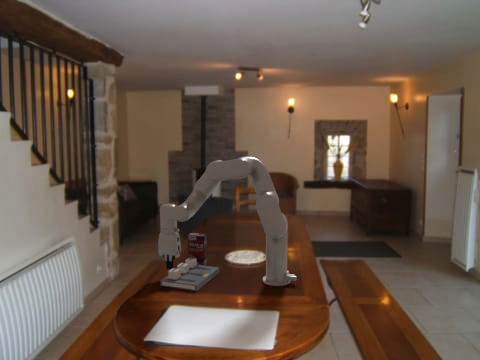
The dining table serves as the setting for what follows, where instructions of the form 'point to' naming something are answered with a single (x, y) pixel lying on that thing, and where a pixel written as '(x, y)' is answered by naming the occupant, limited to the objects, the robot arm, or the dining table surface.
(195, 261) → the switch
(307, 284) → the dining table surface
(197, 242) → the supplement box
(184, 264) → the switch
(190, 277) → the switch unit
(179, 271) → the switch
